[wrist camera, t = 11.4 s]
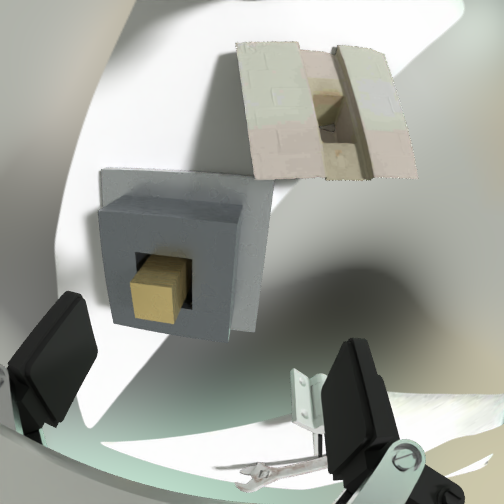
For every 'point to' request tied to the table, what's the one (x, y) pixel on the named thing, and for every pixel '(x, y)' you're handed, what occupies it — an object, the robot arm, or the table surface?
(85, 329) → the robot arm
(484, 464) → the table surface
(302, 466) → the wrench
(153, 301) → the brass pin
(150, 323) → the collar block
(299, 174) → the beige piece
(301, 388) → the hinge
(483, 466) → the table surface
